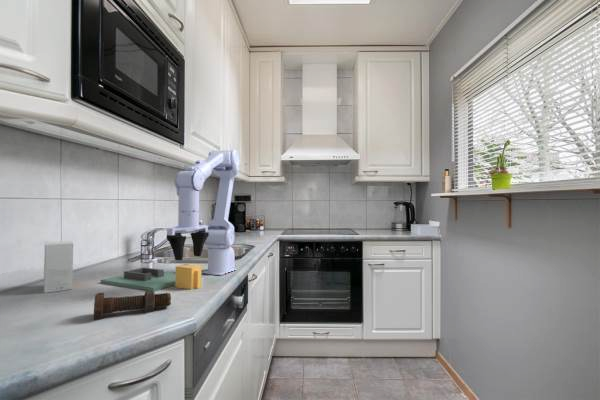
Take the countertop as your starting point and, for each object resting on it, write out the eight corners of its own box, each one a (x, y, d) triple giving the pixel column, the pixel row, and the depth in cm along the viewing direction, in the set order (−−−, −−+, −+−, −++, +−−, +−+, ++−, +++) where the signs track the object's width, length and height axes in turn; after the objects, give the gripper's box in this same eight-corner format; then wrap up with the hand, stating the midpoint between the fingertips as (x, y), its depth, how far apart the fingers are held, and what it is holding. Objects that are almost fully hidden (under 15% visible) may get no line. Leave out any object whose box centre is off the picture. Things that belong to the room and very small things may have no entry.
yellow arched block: (185, 283, 96) (185, 264, 96) (203, 286, 93) (204, 266, 94) (175, 287, 93) (175, 266, 93) (194, 289, 90) (194, 268, 90)
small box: (72, 289, 89) (73, 243, 90) (43, 293, 85) (44, 244, 86) (70, 283, 96) (71, 240, 96) (43, 287, 92) (44, 242, 92)
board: (145, 272, 111) (145, 264, 111) (194, 278, 103) (194, 269, 103) (100, 283, 97) (100, 273, 97) (153, 291, 88) (153, 280, 88)
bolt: (169, 316, 74) (93, 325, 67) (168, 300, 78) (95, 307, 71) (172, 298, 72) (93, 305, 65) (170, 282, 76) (96, 288, 68)
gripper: (195, 210, 102) (195, 253, 102) (158, 211, 88) (158, 260, 88) (213, 211, 99) (212, 255, 99) (178, 212, 86) (177, 262, 85)
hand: (188, 257), depth 93 cm, fingers open, 7 cm apart
